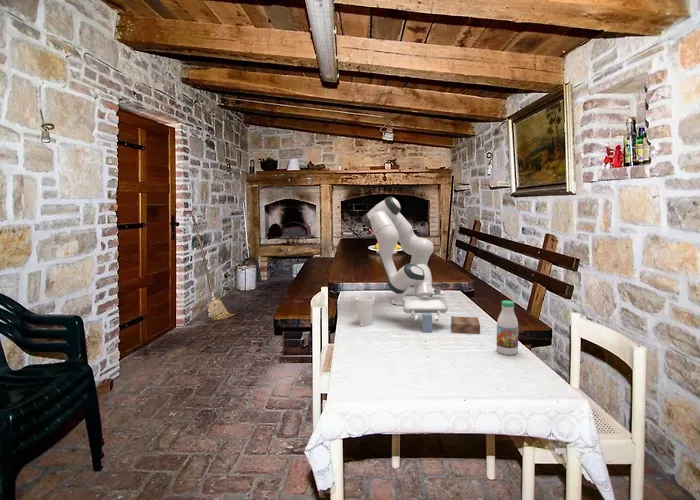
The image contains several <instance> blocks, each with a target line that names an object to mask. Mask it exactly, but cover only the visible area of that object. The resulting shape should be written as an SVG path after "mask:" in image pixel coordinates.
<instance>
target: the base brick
mask: <svg viewBox="0 0 700 500" xmlns="http://www.w3.org/2000/svg"><path fill="white" fill-rule="evenodd" d="M450 320H451V321H450V325H451V327H450V328H451V333H453V334H458V333H459V334H477V335H478V334H479V335H481V323H480V321H479V318H478V317H477V316H450Z"/></svg>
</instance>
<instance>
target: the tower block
mask: <svg viewBox="0 0 700 500" xmlns="http://www.w3.org/2000/svg"><path fill="white" fill-rule="evenodd" d="M421 315H422V316H421V317H422V320H421V322H422V323H421V324H422V332H423V333H433V313H421Z"/></svg>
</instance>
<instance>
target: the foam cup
mask: <svg viewBox="0 0 700 500" xmlns="http://www.w3.org/2000/svg"><path fill="white" fill-rule="evenodd" d="M355 304H356V310H357V311H356V312H357V317H358V321H359V325H360V324H363V325H369V324H372V325H373V319H374V311H375V310H374V309H375V304H376V297H375V296H371V295H360V296H356V297H355ZM363 325H362V326H363ZM369 326H370V325H369Z"/></svg>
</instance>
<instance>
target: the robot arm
mask: <svg viewBox="0 0 700 500" xmlns="http://www.w3.org/2000/svg"><path fill="white" fill-rule="evenodd" d="M401 211H402V207H401V204H400V202H399V200H397V199H396V198H395V197H394V196H388V197H385V198H384V200H382V201H380V202H378V203H377V204H376V205H374V207H372V208H371V209H370V210H369V211H368V212H366V213H365V214H364V216H363V219H362V221H363V224H364V226H365V227H366V228H367V229H368V230H369V231H373V234H374V237H375V238H376V240H377V245H378V257H379V259H380V261H381V265H382V267H383V270H384V272H385V276H386V281H387V285H388V288H389V289H390V291H391V292H392V293H394V294H395V295H394V298H392V299H391V303H390V304H392V305H393V304H396V305H395V306H403V312H404V313H405V314H411V316H412V317H413V319H414V322H417V321H418V320H419V318H418V317H419V316H418V315H416V314H422V313H431V314H436V315H435V316H434V321H435V322H438V321H439V319H440V318H439V317H440V316H441V314H445V313H447V312H448V310H449V309H448V308H449V307H448V302H447V299H446V297H445V296H444V291H443V290H441V289H437V288H434V287H433V284H432V283H433V277H432V272H431V269H430V268H429V266H428V262H429V259H430V257H431V255H432V254H433V252H434V250H435V246H434V243H433V242H432V241H431V240H430V239H428V238H425V237H420V236H417V235H416V234H415V232H414V230H413V226H412V225H411V223H410V222H409V221H408V220H407V219H406V218H405V217H404V215H402V213H401ZM398 243H399V245H400V247H401V250H402V251H403V252H404V253H405V254H408V255H410V256H411V259H410V263H406V264H404V265H403V266H402V267H401V268H399V270H397V268H396V265H395V262H394V259H393V256H394V255H393V254H394V251H395V249H396V246H397V245H398Z"/></svg>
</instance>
